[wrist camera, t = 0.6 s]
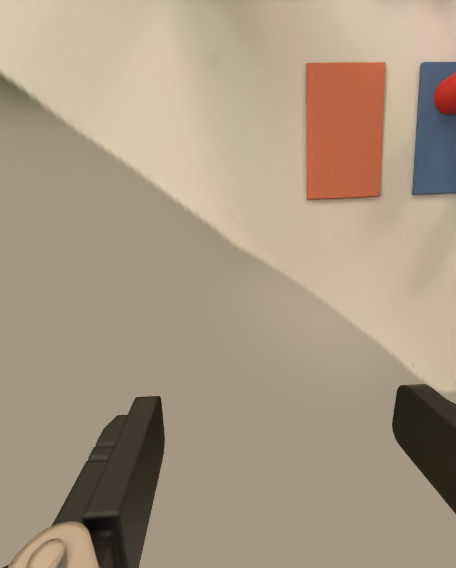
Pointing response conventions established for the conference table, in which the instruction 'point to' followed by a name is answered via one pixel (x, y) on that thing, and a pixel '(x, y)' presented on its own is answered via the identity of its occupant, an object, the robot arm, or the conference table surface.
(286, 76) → the conference table surface
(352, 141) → the red mat
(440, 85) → the red skittle
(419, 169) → the blue mat
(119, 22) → the conference table surface
